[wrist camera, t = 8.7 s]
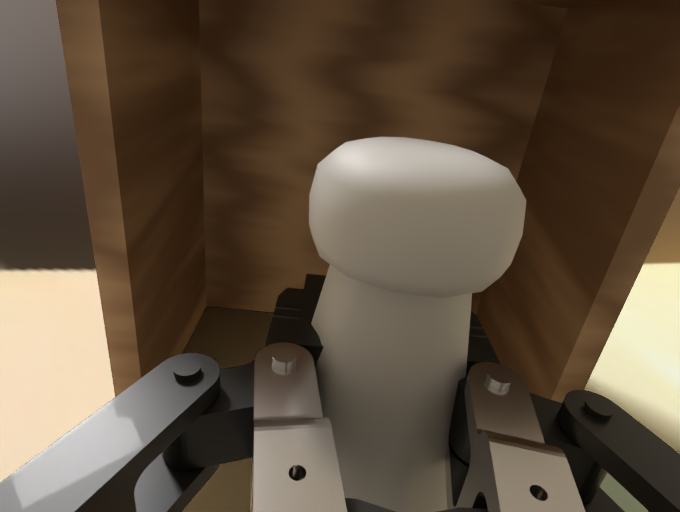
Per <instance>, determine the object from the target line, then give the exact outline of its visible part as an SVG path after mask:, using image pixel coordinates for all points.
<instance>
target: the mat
mask: <svg viewBox="0 0 680 512" xmlns="http://www.w3.org/2000/svg"><path fill="white" fill-rule="evenodd" d="M676 452H678V451H676ZM678 453H679V454H680V452H678ZM600 488H601V489H602V490H603V491H604V492H605V493H606V494H607V495H608V496H609V497H610V498H611V499H612V500H613V501H614V502H615V503H616V504H618V505H619V506H620V507H621V508H622V509H623V510H624V511H625V512H649V511H648V510H647V509H646V508H645V507H644V506H643V505H642V504H641V503H640V502H639V501H637V500H636V499H635V498H634V497H633V496H632V495H631V494H630V493H629V492H628V491H627V490H626V489H625V488H624V487H623V486H621V485H620V484H619V483H618V482H617V481H616V480H615V479H614V478H613V477H612V476H611V475H610V474H609V473H608V472H607V474H606V476H605V478H604V480H603V481H602V483H601V485H600Z"/></svg>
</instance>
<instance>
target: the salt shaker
mask: <svg viewBox="0 0 680 512" xmlns="http://www.w3.org/2000/svg"><path fill="white" fill-rule="evenodd" d="M525 209H526V199H525V197H524V195H523V193H522V191H521V189H520V187H519V186H518V184H517V182H516V181H515V179H514V177H513V176H512V174H511V172H510V171H509V169H508V168H506V167H504V166H502V165H500V164H499V163H497V162H495V161H493V160H491V159H489V158H487V157H485V156H483V155H481V154H478V153H476V152H474V151H471V150H468V149H465V148H461V147H458V146H455V145H451V144H445V143H440V142H435V141H430V140H422V139H414V138H406V137H374V138H365V139H359V140H354V141H348V142H345V143H344V144H342V145H341V146H339V147H338V148H336V149H335V150H334V151H333V152H332V153H330V154H329V155H328V156H327V157H326V158H324V159H323V160H322V161H321V162H320V163H318V165H317V169H316V172H315V176H314V180H313V183H312V187H311V191H310V194H309V226H310V230H311V234H312V237H313V240H314V243H315V246H316V248H317V251H318V253H319V256H320V257H321V258H322V259H323V260H325V261H326V262H328V263H329V264H330V266H329V269H328V272H327V275H326V278H325V282H324V285H323V288H322V291H321V294H320V297H319V300H318V304H317V307H316V310H315V313H314V316H313V319H312V322H311V324H312V326H313V327H314V329H315V331H316V332H317V334H318V335H319V338H320V341H321V344H322V345H323V346H324V347H323V350H322V352H321V354H320V357H319V359H318V361H317V364H316V369H315V372H316V378H317V384H318V390H319V396H320V402H321V408H322V414H323V417H328V418H329V419H330V422H331V426H332V432H333V437H334V443H335V448H336V453H337V459H338V464H339V470H340V475H341V480H342V486H343V491H344V497H345V498H352V499H359V500H362V501H365V502H368V503H371V504H374V505H377V506H380V507H383V508H386V509H389V510H392V511H395V512H437V511H443V510H447V495H446V474H445V455H446V450H447V445H448V440H449V438H448V437H449V431H450V425H451V419H452V413H453V408H454V403H455V398H456V393H457V388H458V383H459V380H461V379H463V378H464V377H466V368H467V355H468V341H469V328H470V315H471V302H472V293H476V292H482V291H483V290H485V289H486V288H487V287H489V286H490V285H491V284H492V283H494V282H495V281H496V280H498V279H499V278H500V277H501V276H502V275H503V274H504V272H505V271H506V270H507V269H508V267H509V266H510V265H511V263H512V260H513V258H514V255H515V253H516V250H517V248H518V245H519V242H520V240H521V237H522V235H523V226H524V218H525Z"/></svg>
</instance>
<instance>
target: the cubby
mask: <svg viewBox="0 0 680 512" xmlns="http://www.w3.org/2000/svg"><path fill="white" fill-rule="evenodd" d="M56 5H57V11H58V18H59V24H60V30H61V31H60V32H61V38H62V45H63V51H64V58H65V65H66V71H67V78H68V85H69V91H70V98H71V104H72V111H73V118H74V125H75V131H76V138H77V144H78V151H79V158H80V165H81V171H82V178H83V185H84V191H85V197H86V203H87V211H88V218H89V225H90V231H91V238H92V244H93V251H94V258H95V264H96V271H97V278H98V284H99V291H100V298H101V304H102V311H103V318H104V324H105V331H106V338H107V344H108V351H109V358H110V364H111V371H112V378H113V384H114V391H115V397H116V396H118V395H119V394H120V393H122V392H123V391H124V390H126V389H127V388H129V387H130V386H131V385H133V384H134V383H135V382H137V381H138V380H139V379H141V378H142V377H143V376H145V375H146V374H147V373H149V372H150V371H151V370H153V369H154V368H156V367H157V366H158V365H160V364H161V363H162V362H164V361H165V360H167V359H169V358H171V357H173V356H176V355H180V354H182V353H183V351H184V349H185V347H186V345H187V343H188V341H189V339H190V337H191V335H192V333H193V331H194V329H195V327H196V326H197V324H198V322H199V320H200V318H201V316H202V314H203V312H204V310H205V308H206V306H213V307H223V308H233V309H244V310H254V311H264V312H274V310H275V306H276V302H277V298H278V295H280V294H281V293H282V292H283V291H284V290H285V289H286V288H297V289H304V286H305V279H306V274H317V275H327V272H328V269H329V266H330V264H329V263H328V262H326V261H325V260H323V259H322V258H321V257H320V256H319V253H318V251H317V248H316V246H315V243H314V240H313V237H312V234H311V230H310V226H309V194H310V191H311V187H312V183H313V180H314V176H315V172H316V169H317V165H318V163H320V162H321V161H322V160H323V159H324V158H326V157H327V156H328V155H329V154H330V153H332V152H333V151H334V150H335V149H336V148H338V147H339V146H341V145H342V144H344V143H345V142H348V141H354V140H359V139H365V138H374V137H406V138H414V139H422V140H430V141H435V142H440V143H445V144H451V145H455V146H458V147H461V148H465V149H468V150H471V151H474V152H476V153H478V154H481V155H483V156H485V157H487V158H489V159H491V160H493V161H495V162H497V163H499V164H500V165H502V166H504V167H506V168H508V169H509V171H510V172H511V174H512V176H513V177H514V179H515V181H516V182H517V184H518V186H519V187H520V189H521V191H522V193H523V195H524V197H525V199H526V209H525V218H524V226H523V235H522V237H521V240H520V242H519V245H518V248H517V250H516V253H515V255H514V258H513V260H512V263H511V265H510V266H509V267H508V269H507V270H506V271H505V272H504V274H503V275H502V276H501V277H500V278H499V279H498V280H496V281H495V282H494V283H492V284H491V285H490V286H489V287H487V288H486V289H485V290H483V291H482V292H476V293H472V302H471V311H472V312H473V313H474V314H475V315H476V316H477V317H478V319H479V321H480V323H481V325H482V329H484V331H485V333H486V335H487V338H488V339H489V341H490V343H491V345H492V347H493V349H494V351H495V353H496V356H497V358H498V360H499V362H500V364H501V365H503V366H506V367H508V368H510V369H512V370H513V371H515V372H516V373H517V374H519V375H520V376H521V377H522V378H523V380H524V381H525V382H526V384H527V387H528V390H529V392H530V393H533V394H535V395H538V396H541V397H544V398H547V399H551V400H554V401H557V402H560V403H562V402H563V400H564V398H565V396H566V394H567V393H568V392H570V391H574V390H584V388H585V386H586V384H587V382H588V380H589V378H590V375H591V373H592V371H593V369H594V367H595V365H596V363H597V361H598V359H599V356H600V354H601V352H602V350H603V348H604V346H605V344H606V342H607V339H608V337H609V335H610V333H611V331H612V329H613V327H614V325H615V323H616V320H617V318H618V316H619V314H620V312H621V310H622V308H623V306H624V304H625V301H626V299H627V297H628V295H629V293H630V291H631V289H632V287H633V285H634V282H635V280H636V278H637V276H638V274H639V272H640V270H641V268H642V265H643V263H644V261H645V259H646V257H647V255H648V253H649V251H650V248H651V246H652V244H653V242H654V240H655V238H656V236H657V234H658V232H659V229H660V227H661V225H662V223H663V221H664V219H665V217H666V215H667V213H668V211H669V208H670V206H671V204H672V202H673V200H674V198H675V196H676V194H677V191H678V189H679V187H680V0H56Z"/></svg>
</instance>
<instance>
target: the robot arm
mask: <svg viewBox="0 0 680 512" xmlns="http://www.w3.org/2000/svg"><path fill="white" fill-rule="evenodd" d="M325 278H326V275H317V274H306V279H305V286H304V289H297V288H286V289H285V290H284V291H283V292H282V293H281V294H280V295H278V298H277V302H276V306H275V310H274V314H273V318H272V322H271V326H270V329H269V333H268V337H267V341H266V345H265V347H264V348H262V349H261V350H260V351H259V352H258V353H257V355H256V357H255V360H254V361H252V362H251V363H248V364H246V365H243V366H239V367H233V368H226V369H220V367H219V365H218V363H217V362H216V361H215V360H214V359H213V358H211V357H210V356H207V355H204V354H200V353H185V354H180V355H176V356H173V357H171V358H169V359H167V360H165V361H164V362H162V363H161V364H160V365H158V366H157V367H156V368H154V369H153V370H151V371H150V372H149V373H147V374H146V375H145V376H143V377H142V378H141V379H139V380H138V381H137V382H135V383H134V384H133V385H131V386H130V387H129V388H127V389H126V390H124V391H123V392H122V393H120V394H119V395H118V396H116V397H115V398H114V399H112V400H111V401H110V402H108V403H107V404H106V405H104V406H103V407H102V408H100V409H99V410H98V411H96V412H95V413H93V414H92V415H91V416H89V417H88V418H87V419H85V420H84V421H83V422H81V423H80V424H79V425H77V426H76V427H75V428H73V429H72V430H71V431H69V432H68V433H66V434H65V435H64V436H62V437H61V438H60V439H58V440H57V441H56V442H54V443H53V444H52V445H50V446H49V447H48V448H46V449H45V450H44V451H42V452H41V453H40V454H38V455H37V456H35V457H34V458H33V459H31V460H30V461H29V462H27V463H26V464H25V465H23V466H22V467H21V468H19V469H18V470H17V471H15V472H14V473H13V474H11V475H10V476H8V477H7V478H6V479H4V480H3V481H2V482H0V512H182V510H183V509H184V508H185V507H186V506H187V504H188V503H189V502H190V501H191V500H192V499H193V497H194V496H195V495H196V494H197V493H198V491H199V490H200V489H201V488H202V487H203V486H204V484H205V483H206V482H207V481H208V480H209V478H210V477H211V476H212V475H213V474H214V473H215V471H216V470H217V468H218V466H219V464H222V463H227V462H232V461H237V460H242V459H246V458H251V501H250V512H395V511H392V510H389V509H386V508H383V507H380V506H377V505H374V504H371V503H368V502H365V501H362V500H359V499H352V498H345V497H344V491H343V486H342V480H341V475H340V470H339V464H338V459H337V453H336V448H335V443H334V437H333V432H332V426H331V422H330V419H329V418H328V417H323V414H322V408H321V402H320V396H319V390H318V384H317V378H316V372H315V369H316V364H317V361H318V359H319V357H320V354H321V352H322V350H323V347H324V346H323V345H322V344H321V341H320V338H319V335H318V334H317V332H316V331H315V329H314V327H313V326H312V324H311V322H312V319H313V316H314V313H315V310H316V307H317V304H318V300H319V297H320V294H321V291H322V288H323V285H324V282H325ZM448 438H449V440H448V445H447V450H446V455H445V474H446V495H447V510H443V511H437V512H625V511H624V510H623V509H622V508H621V507H620V506H619V505H618V504H616V503H615V502H614V501H613V500H612V499H611V498H610V497H609V496H608V495H607V494H606V493H605V492H604V491H603V490H602V489H601V488H600V485H601V483H602V481H603V480H604V478H605V476H606V474H607V472H608V473H609V474H610V475H611V476H612V477H613V478H614V479H615V480H616V481H617V482H618V483H619V484H620V485H621V486H623V487H624V488H625V489H626V490H627V491H628V492H629V493H630V494H631V495H632V496H633V497H634V498H635V499H636V500H637V501H639V502H640V503H641V504H642V505H643V506H644V507H645V508H646V509H647V510H648V511H649V512H680V454H679V453H678V452H676V451H675V450H674V449H672V448H671V447H670V446H669V445H667V444H666V443H665V442H664V441H662V440H661V439H660V438H658V437H657V436H656V435H655V434H653V433H652V432H651V431H649V430H648V429H647V428H646V427H644V426H643V425H642V424H641V423H639V422H638V421H637V420H635V419H634V418H633V417H632V416H630V415H629V414H628V413H626V412H625V411H624V410H623V409H621V408H620V407H619V406H618V405H616V404H615V403H613V402H612V401H610V400H609V399H607V398H605V397H603V396H601V395H599V394H596V393H593V392H590V391H585V390H574V391H570V392H568V393H567V394H566V396H565V398H564V400H563V402H562V403H560V402H557V401H554V400H551V399H547V398H544V397H541V396H538V395H535V394H533V393H530V392H529V390H528V387H527V384H526V382H525V381H524V380H523V378H522V377H521V376H520V375H519V374H517V373H516V372H515V371H513V370H512V369H510V368H508V367H506V366H503V365H501V364H500V362H499V360H498V358H497V356H496V353H495V351H494V349H493V347H492V345H491V343H490V341H489V339H488V338H487V335H486V333H485V331H484V329H482V325H481V323H480V321H479V319H478V317H477V316H476V315H475V314H474V313H473V312H472V311H471V315H470V328H469V341H468V355H467V368H466V377H464V378H463V379H461V380H459V383H458V388H457V393H456V398H455V403H454V408H453V413H452V419H451V425H450V431H449V437H448Z"/></svg>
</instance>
